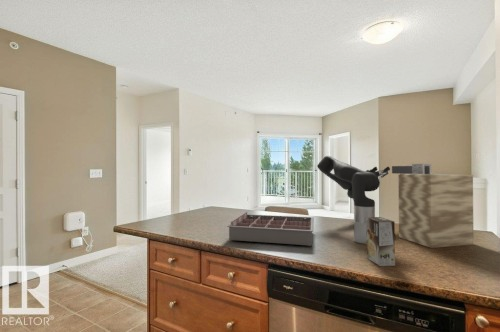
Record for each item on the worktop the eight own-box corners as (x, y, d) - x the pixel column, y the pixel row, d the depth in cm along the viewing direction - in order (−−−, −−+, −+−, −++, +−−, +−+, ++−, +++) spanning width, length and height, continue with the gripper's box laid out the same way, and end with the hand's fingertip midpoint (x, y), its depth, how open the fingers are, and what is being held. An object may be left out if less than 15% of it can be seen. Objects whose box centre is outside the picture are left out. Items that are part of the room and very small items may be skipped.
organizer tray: (313, 249, 110) (313, 226, 110) (227, 243, 120) (226, 222, 120) (313, 231, 141) (313, 213, 141) (244, 227, 151) (244, 211, 151)
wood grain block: (473, 244, 117) (472, 174, 117) (431, 247, 111) (430, 174, 112) (436, 234, 134) (436, 173, 135) (398, 237, 129) (398, 173, 129)
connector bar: (431, 174, 121) (431, 163, 121) (422, 174, 119) (422, 163, 119) (398, 173, 140) (398, 164, 140) (390, 173, 139) (390, 164, 139)
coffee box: (396, 265, 91) (395, 221, 91) (379, 266, 90) (379, 221, 91) (380, 257, 100) (380, 216, 100) (365, 257, 100) (365, 216, 100)
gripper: (355, 175, 162) (370, 162, 148) (374, 175, 165) (390, 162, 151) (358, 185, 158) (374, 173, 144) (378, 185, 161) (395, 173, 148)
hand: (382, 167), depth 148 cm, fingers open, 8 cm apart
